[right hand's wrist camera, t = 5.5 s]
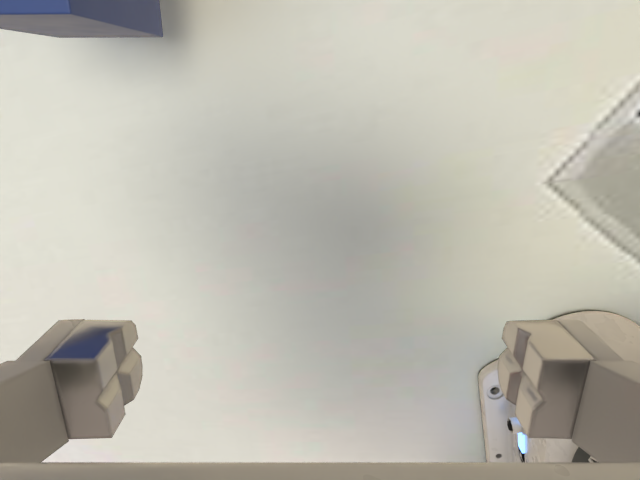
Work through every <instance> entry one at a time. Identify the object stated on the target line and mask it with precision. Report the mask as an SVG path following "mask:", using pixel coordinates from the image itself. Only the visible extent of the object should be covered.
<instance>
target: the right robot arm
mask: <svg viewBox="0 0 640 480" xmlns="http://www.w3.org/2000/svg"><path fill="white" fill-rule="evenodd" d="M137 340H138V335H137V330H136V325H135V324H134V323H133V322H132V321H129V320H84V319H74V320H59V321H58V322H57V323H56V324H54V325H53V326H52V327H51V328H50V329H49V330H48V331H47V332H46V333H45V334H44V335H43V336H42V337H40V338H39V339H38V340H37V341H36V342H35V343H34V344H33V345H32V346H31V347H30V348H29V349H28V350H27V351H25V352H24V353H23V354H22V355H21V356H20V357H19V358H18V359H17V360H16V361H6V362H4V363H1V364H0V480H640V326H639V325H637V324H636V323H634V322H633V321H631V320H629V319H627V318H625V317H623V316H620V315H617V314H614V313H609V312H602V311H583V312H576V313H571V314H567V315H563V316H560V317H558V318H555V319H553V320H527V321H507V322H506V324H505V326H504V328H503V334H502V340H503V341H504V343H505V344H506V346H507V348H506V349H505V350H504V351H503V352H502V353H501V354H500V356H499V359H498V360H496V361H494V362H492V363H490V364H488V365H487V366H485V367H484V368H483V369H482V370H481V371H480V373H479V375H478V382H479V392H480V402H481V412H482V421H483V431H484V441H485V451H486V461H487V463H41V462H42V461H43V460H45V459H46V458H47V457H49V456H50V455H51V454H52V453H54V452H55V451H56V450H58V449H59V448H60V447H62V446H63V445H64V444H66V443H67V442H68V441H69V440H68V439H88V438H112V437H113V435H114V433H115V431H116V430H117V428H118V426H119V424H120V423H121V421H122V419H123V418H124V416H125V409H124V405H126V404H127V403H129V402H131V401H132V400H134V398H135V396H136V395H137V393H138V391H139V388H140V384H141V380H142V359H141V356H140V355H139V353H138V352H137V351H136V350H135V349H134V348H133V346H134V344H135V343H136V341H137ZM493 387H496V388H495V389H493V390H491V389H492V388H493Z"/></svg>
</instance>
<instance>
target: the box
mask: <svg viewBox="0 0 640 480" xmlns="http://www.w3.org/2000/svg"><path fill="white" fill-rule="evenodd" d="M0 29H6V30H13V31H19V32H26V33H32V34H39V35H46V36H52V37H59V38H77V37H163V31H162V21H161V12H160V3H159V0H0Z"/></svg>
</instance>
